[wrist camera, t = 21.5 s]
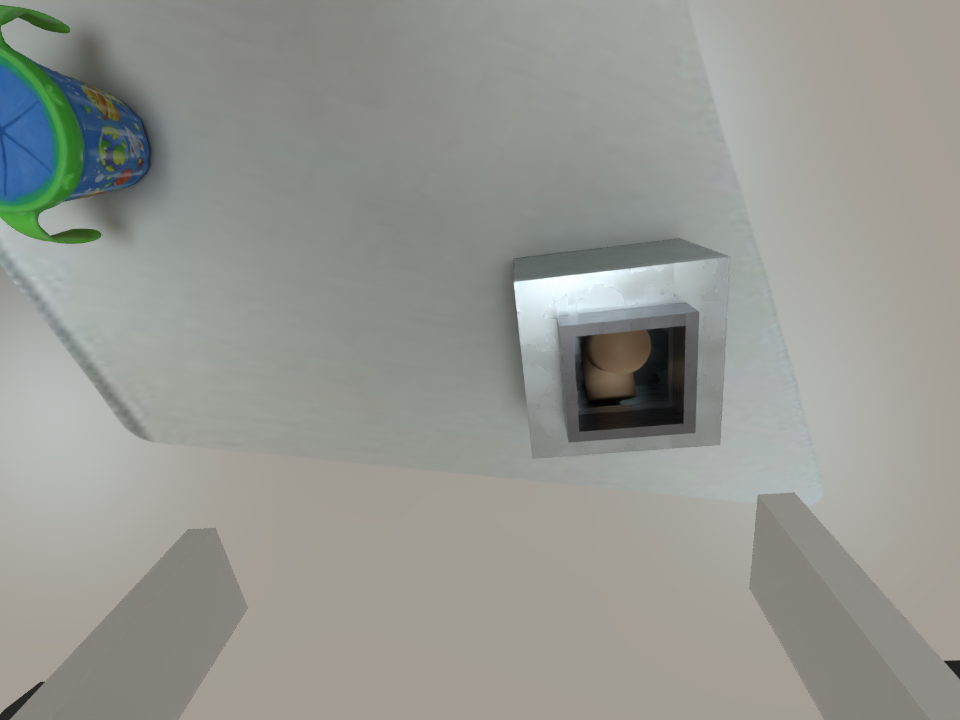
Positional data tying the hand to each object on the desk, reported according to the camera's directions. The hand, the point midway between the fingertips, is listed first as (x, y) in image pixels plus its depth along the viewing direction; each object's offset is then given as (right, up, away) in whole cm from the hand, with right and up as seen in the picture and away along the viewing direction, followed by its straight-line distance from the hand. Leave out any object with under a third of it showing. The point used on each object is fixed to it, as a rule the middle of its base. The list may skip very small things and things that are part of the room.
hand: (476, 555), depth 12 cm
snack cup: (-31, +24, +29) cm, 49 cm away
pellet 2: (+11, +6, +29) cm, 32 cm away
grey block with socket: (+11, +8, +31) cm, 34 cm away
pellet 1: (+11, +6, +26) cm, 29 cm away
